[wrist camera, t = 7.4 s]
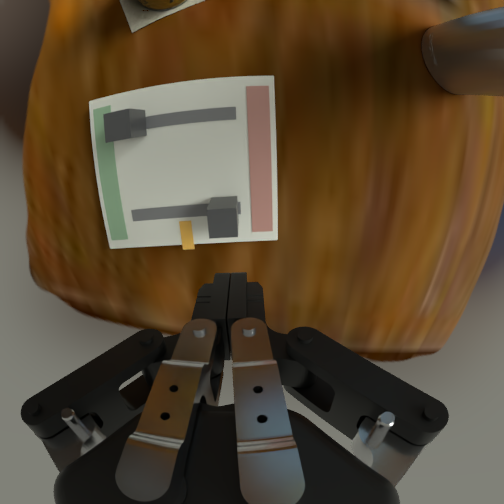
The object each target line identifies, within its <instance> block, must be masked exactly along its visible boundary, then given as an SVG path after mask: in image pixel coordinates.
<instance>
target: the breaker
mask: <svg viewBox="0 0 504 504" xmlns="http://www.w3.org/2000/svg"><path fill="white" fill-rule="evenodd" d="M103 118H104V131H105V142H106V143H108V142H114V141H119V140H124V139H130V138H136V137H142V136H147V130H146V116H145V110H140V109H130V108H129V109H124V110H119V111H115V112H111V113H106V114H103Z"/></svg>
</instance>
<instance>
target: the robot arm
mask: <svg viewBox="0 0 504 504" xmlns="http://www.w3.org/2000/svg"><path fill="white" fill-rule="evenodd" d="M422 53H423V58H424V61H425V64H426V66H427V68H428V70H429V72H430V73H431V75H432V76H433V78H434V79H435V81H436V82H437V83H438V84H439V85H440V86H441V87H442V88H444V89H445V90H446V91H448V92H450V93H453V94H456V95H488V96H504V7H499V8H495V9H490V10H486V11H482V12H478V13H475V14H471V15H468V16H464V17H461V18H458V19H454V20H451V21H448V22H445V23H442V24H439V25H436V26H433V27H431V28H429V29H428V30H427V31H426V32H425V33H424V35H423V38H422ZM230 356H231V357H232V360H233V364H232V368H233V369H232V370H233V387H234V404H230V405H225V406H218V404H219V397H220V392H221V387H222V380H223V376H224V372H223V368H224V360H230ZM140 371H142V374H143V375H142V376H140V377H139V378H137V379H136V380H134V381H133V382H131V383H130V384H129V385H127V386H126V387H124V388H123V389H121V390H120V391H119V387H120V385H121V384H122V383H124V382H125V381H127V380H128V379H130V378H131V377H133V376H134V375H136V374H137V373H138V372H140ZM282 385H284V388H285V390H286V391H288V393H290V394H291V395H292V396H293V397H295V398H296V399H297V400H298V401H300V402H301V403H302V404H304V405H305V406H306V407H307V408H309V409H310V410H312V411H313V412H314V413H315V414H317V415H318V416H319V417H321V418H322V419H323V420H325V421H326V422H328V423H329V424H330V425H332V426H333V427H335V428H336V429H337V430H339V431H340V432H342V433H343V434H344V435H346V436H347V437H349V438H350V439H352V444H351V448H352V451H353V453H354V454H355V456H354V455H353V454H351V453H350V452H349V451H348V450H346V449H345V448H344V447H342V446H341V445H340V444H338V443H337V442H336V441H335V440H333V439H332V438H331V437H330V436H328V435H327V434H326V433H324V432H323V431H322V430H321V429H320V428H318V427H317V426H316V425H315V424H313V423H312V422H311V421H310V420H308V419H307V418H305V417H304V416H302V415H301V414H299V413H297V412H294V411H291V410H289V409H287V407H286V403H285V398H284V393H283V388H282ZM21 417H22V420H23V421H24V422H25V423H26V424H27V425H28V426H29V427H30V429H31V430H32V431H33V432H34V433H35V435H36V436H37V437H38V438H39V439H40V440H41V441H42V442H43V444H44V446H45V447H46V449H47V451H48V453H49V455H50V457H51V458H52V460H53V462H54V464H55V465H56V467H57V469H58V470H59V472H60V473H59V475H58V476H57V479H56V481H55V484H54V499H55V503H56V504H400V500H399V496H398V493H397V490H396V489H395V486H396V485H397V484H398V482H399V481H400V480H401V479H402V477H403V476H404V475H405V473H406V472H407V471H408V469H409V468H410V466H411V465H412V464H413V462H414V461H415V459H416V458H417V457H418V455H419V454H420V453H421V452H422V451H423V450H424V449H425V448H426V447H427V446H428V445H429V444H430V443H431V442H432V441H433V439H434V438H435V437H436V436H437V435H438V434H439V433H440V431H441V430H442V429H443V428H444V427H445V425H446V424H447V422H448V418H449V415H448V410H447V408H446V407H445V405H444V404H443V403H442V402H440V401H439V400H437V399H435V398H433V397H431V396H429V395H428V394H426V393H424V392H422V391H421V390H419V389H417V388H415V387H413V386H412V385H409V384H408V383H406V382H404V381H403V380H401V379H399V378H397V377H396V376H394V375H392V374H390V373H389V372H387V371H385V370H383V369H381V368H380V367H378V366H376V365H375V364H373V363H371V362H370V361H368V360H366V359H364V358H363V357H361V356H359V355H358V354H356V353H354V352H353V351H351V350H349V349H348V348H346V347H344V346H343V345H341V344H339V343H338V342H336V341H334V340H333V339H331V338H329V337H328V336H326V335H324V334H323V333H321V332H319V331H318V330H316V329H314V328H310V327H298V328H295V329H293V330H291V331H290V332H289V333H288V334H281V333H277V332H275V331H273V330H271V329H270V328H269V327H268V326H267V324H266V321H265V310H264V298H263V288H262V287H261V285H260V284H259V283H258V282H247V273H246V272H241V273H215V277H214V282H213V284H204V285H203V286H202V287H201V288H200V289H199V292H198V296H197V299H196V303H195V307H194V311H193V315H192V319H191V321H189V322H188V323H186V324H185V325H184V327H183V329H182V331H181V333H179V334H177V335H173V336H168V337H163V335H162V333H161V332H160V331H158V330H155V329H144V330H141V331H139V332H137V333H136V334H134V335H132V336H130V337H129V338H127V339H126V340H124V341H123V342H121V343H119V344H118V345H116V346H114V347H113V348H111V349H109V350H108V351H106V352H105V353H103V354H101V355H100V356H98V357H97V358H95V359H93V360H92V361H90V362H89V363H87V364H85V365H84V366H82V367H80V368H78V369H77V370H75V371H73V372H72V373H70V374H69V375H67V376H65V377H64V378H62V379H60V380H59V381H57V382H55V383H54V384H52V385H50V386H49V387H47V388H46V389H44V390H42V391H41V392H39V393H37V394H36V395H34V396H32V397H31V398H29V399H28V400H27V401H26V402H25V403H24V404H23V406H22V409H21Z"/></svg>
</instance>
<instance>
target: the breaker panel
mask: <svg viewBox="0 0 504 504" xmlns="http://www.w3.org/2000/svg"><path fill="white" fill-rule="evenodd" d="M129 108H130V109H140V110H145V116H146V130H147V136H142V137H136V138H130V139H124V140H119V141H114V142H108V143H106V142H105V131H104V118H103V114H106V113H111V112H115V111H119V110H124V109H129ZM89 110H90V125H91V137H92V147H93V156H94V164H95V171H96V178H97V185H98V191H99V197H100V202H101V208H102V213H103V218H104V223H105V228H106V232H107V237H108V241H109V246H110V249H115V248H132V247H149V246H167V245H182V246H183V250H184V249H195V248H194V244H204V243H224V242H244V241H266V240H278V212H277V153H276V118H275V91H274V76H240V77H223V78H211V79H201V80H192V81H184V82H177V83H170V84H164V85H158V86H152V87H147V88H142V89H137V90H132V91H128V92H123V93H119V94H115V95H111V96H107V97H103V98H100V99H96V100H92V101H89ZM227 196H237V200H238V218H239V226H238V237H229V238H210V239H209V231H208V221H207V207H208V205H209V202H210V200H211V198H212V197H227Z"/></svg>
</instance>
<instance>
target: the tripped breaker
mask: <svg viewBox="0 0 504 504" xmlns="http://www.w3.org/2000/svg"><path fill="white" fill-rule="evenodd" d="M207 221H208V231H209V239H210V238H229V237H238V226H239V218H238V200H237V196H227V197H212V198H211V200H210V202H209V205H208V207H207Z"/></svg>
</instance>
